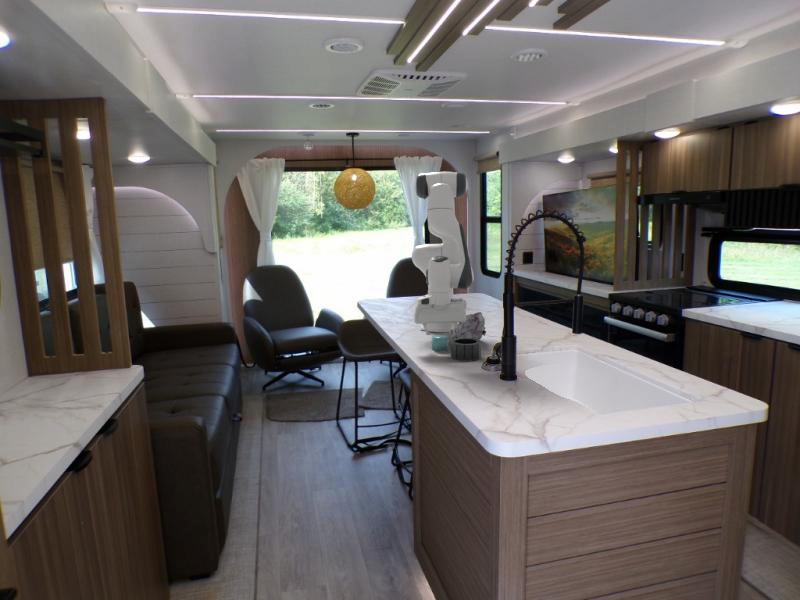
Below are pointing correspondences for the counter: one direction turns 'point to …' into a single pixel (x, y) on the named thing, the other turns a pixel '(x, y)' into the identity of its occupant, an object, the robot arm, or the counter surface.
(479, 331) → the rock
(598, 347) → the counter surface
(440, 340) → the teal cube
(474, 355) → the grey short cylinder
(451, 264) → the robot arm
